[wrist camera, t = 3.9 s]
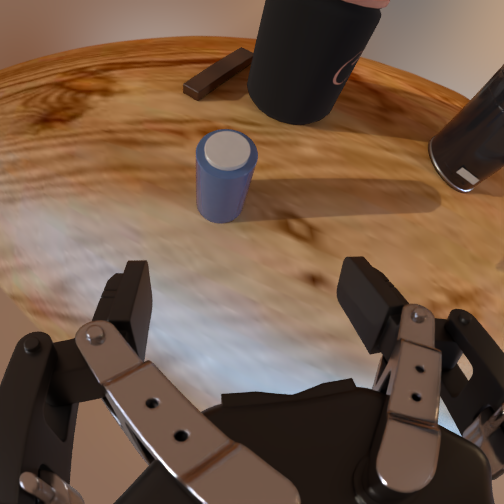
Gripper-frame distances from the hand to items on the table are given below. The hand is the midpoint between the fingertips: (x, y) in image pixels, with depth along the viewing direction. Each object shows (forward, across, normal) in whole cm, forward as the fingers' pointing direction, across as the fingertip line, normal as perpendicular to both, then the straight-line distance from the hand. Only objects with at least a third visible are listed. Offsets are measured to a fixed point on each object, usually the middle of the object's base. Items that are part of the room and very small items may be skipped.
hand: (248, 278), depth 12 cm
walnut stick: (+30, 0, -10) cm, 32 cm away
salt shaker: (+17, 0, +3) cm, 17 cm away
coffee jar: (+28, -8, -8) cm, 30 cm away
